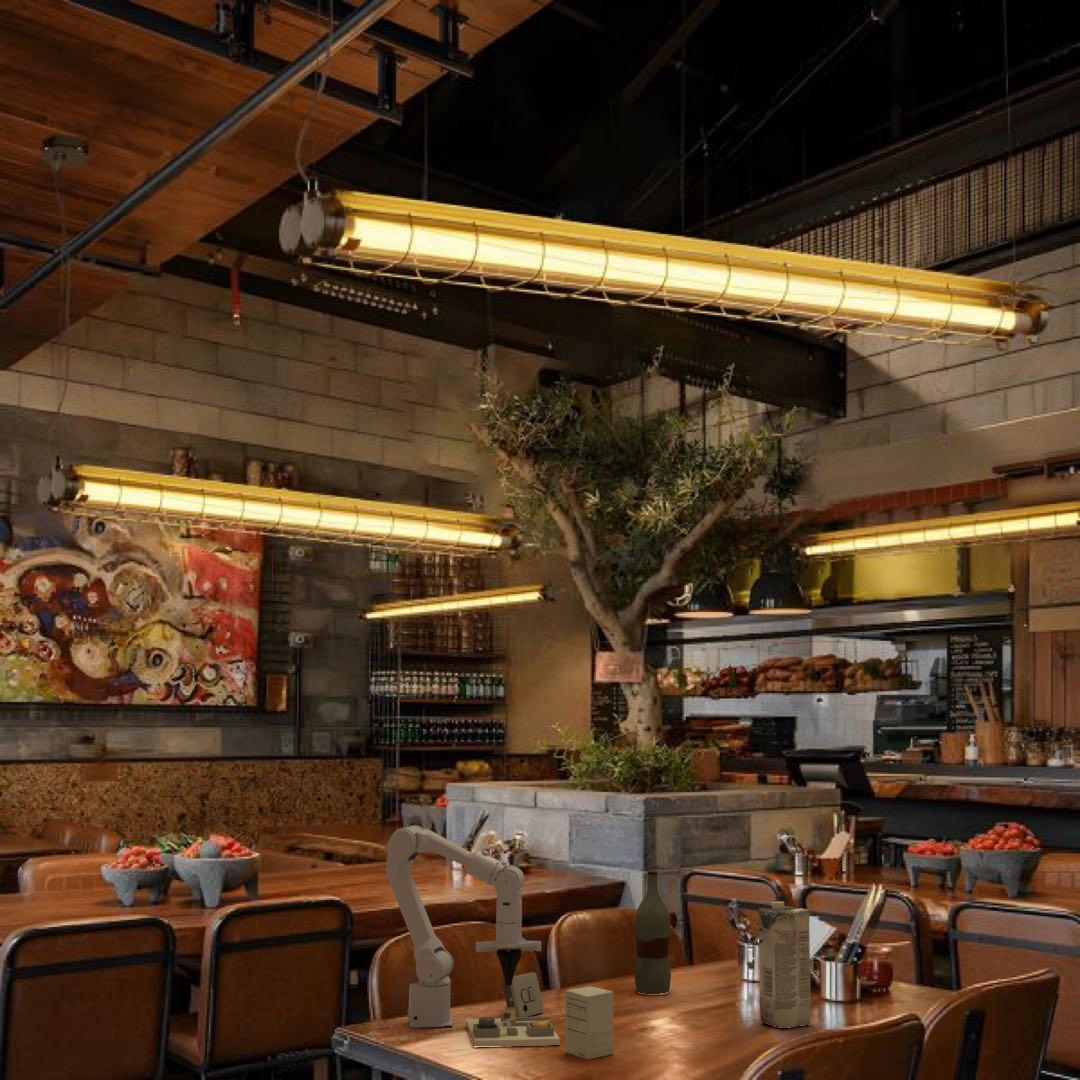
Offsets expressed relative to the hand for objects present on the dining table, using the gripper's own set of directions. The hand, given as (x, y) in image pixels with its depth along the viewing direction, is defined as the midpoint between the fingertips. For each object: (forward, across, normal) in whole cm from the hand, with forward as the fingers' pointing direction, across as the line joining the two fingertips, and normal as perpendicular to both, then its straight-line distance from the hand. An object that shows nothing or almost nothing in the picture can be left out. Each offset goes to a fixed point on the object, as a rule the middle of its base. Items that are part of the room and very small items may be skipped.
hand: (508, 984), depth 300 cm
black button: (+6, -6, -12) cm, 15 cm away
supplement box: (+10, +14, -24) cm, 29 cm away
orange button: (+7, +5, -12) cm, 15 cm away
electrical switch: (+10, +5, +13) cm, 17 cm away
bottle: (+10, +41, +35) cm, 55 cm away
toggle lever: (+8, -1, -12) cm, 14 cm away
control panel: (+9, 0, -7) cm, 12 cm away
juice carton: (+10, +63, -3) cm, 64 cm away
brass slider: (+8, 0, -2) cm, 8 cm away
